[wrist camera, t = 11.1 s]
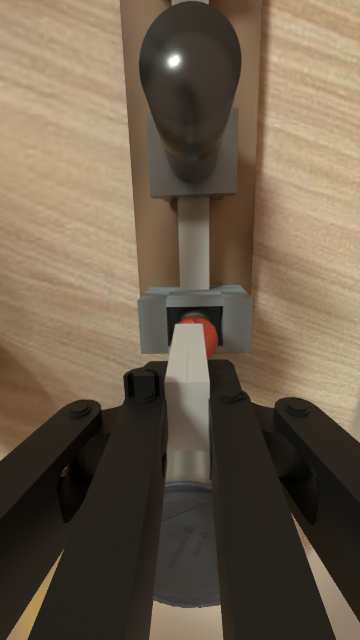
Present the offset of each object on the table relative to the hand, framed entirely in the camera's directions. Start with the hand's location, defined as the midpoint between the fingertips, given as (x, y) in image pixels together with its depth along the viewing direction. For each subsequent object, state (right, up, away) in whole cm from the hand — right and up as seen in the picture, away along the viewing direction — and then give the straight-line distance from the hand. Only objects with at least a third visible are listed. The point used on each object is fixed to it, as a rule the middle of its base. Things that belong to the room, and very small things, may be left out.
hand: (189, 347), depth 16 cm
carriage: (0, +14, +7) cm, 15 cm away
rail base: (+1, +14, +8) cm, 16 cm away
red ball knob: (+1, +2, +6) cm, 7 cm away
